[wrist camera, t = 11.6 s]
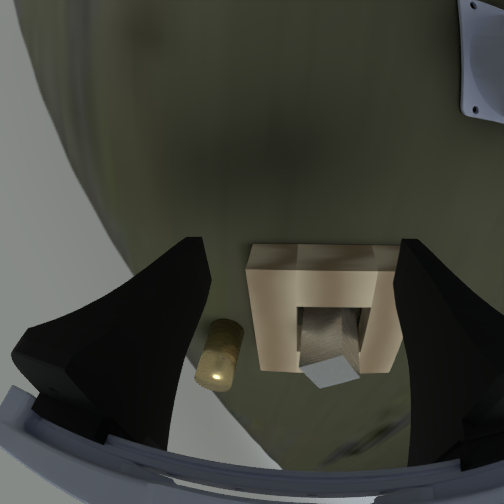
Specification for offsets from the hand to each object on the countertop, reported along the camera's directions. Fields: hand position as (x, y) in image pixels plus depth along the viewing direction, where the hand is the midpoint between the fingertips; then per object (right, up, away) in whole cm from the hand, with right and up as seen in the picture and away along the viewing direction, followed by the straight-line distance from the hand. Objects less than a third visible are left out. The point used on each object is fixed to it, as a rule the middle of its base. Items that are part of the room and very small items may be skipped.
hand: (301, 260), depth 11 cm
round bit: (-4, -7, +19) cm, 20 cm away
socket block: (+5, -4, +14) cm, 16 cm away
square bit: (+5, -4, +14) cm, 16 cm away
